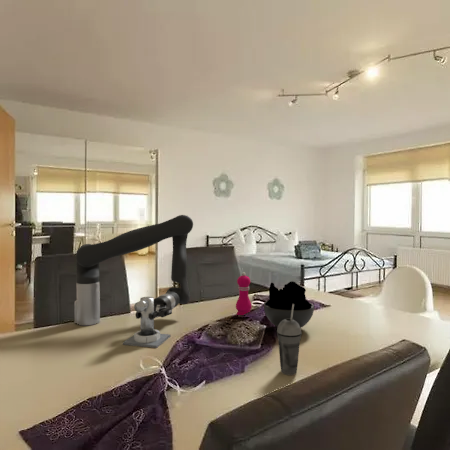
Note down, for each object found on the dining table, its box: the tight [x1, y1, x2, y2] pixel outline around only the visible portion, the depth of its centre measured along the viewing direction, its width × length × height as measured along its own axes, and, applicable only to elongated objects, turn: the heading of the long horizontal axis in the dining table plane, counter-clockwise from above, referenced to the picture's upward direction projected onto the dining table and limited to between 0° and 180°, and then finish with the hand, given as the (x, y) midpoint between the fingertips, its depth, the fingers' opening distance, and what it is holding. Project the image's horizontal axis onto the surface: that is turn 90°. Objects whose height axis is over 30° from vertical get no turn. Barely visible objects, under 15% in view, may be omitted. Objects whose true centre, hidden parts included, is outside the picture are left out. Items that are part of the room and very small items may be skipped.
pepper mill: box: [235, 271, 253, 316], centre depth 165 cm, size 7×7×20 cm
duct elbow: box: [133, 296, 155, 336], centre depth 131 cm, size 5×9×14 cm, turn 166°
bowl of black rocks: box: [263, 280, 315, 328], centre depth 147 cm, size 20×20×19 cm
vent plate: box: [122, 328, 171, 349], centre depth 133 cm, size 13×12×3 cm
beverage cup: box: [276, 304, 303, 376], centre depth 107 cm, size 7×7×20 cm
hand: (144, 316), depth 131 cm, fingers closed on duct elbow, 4 cm apart
